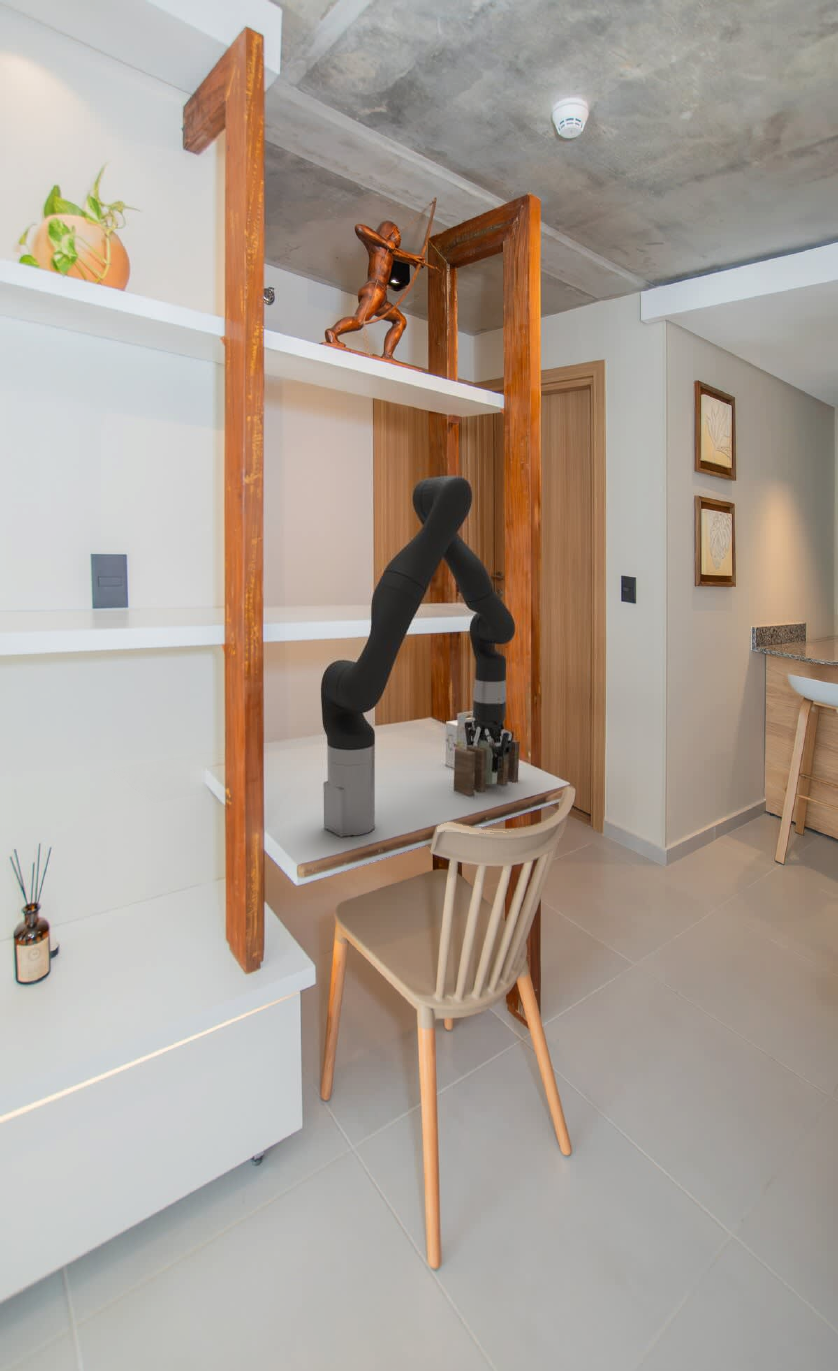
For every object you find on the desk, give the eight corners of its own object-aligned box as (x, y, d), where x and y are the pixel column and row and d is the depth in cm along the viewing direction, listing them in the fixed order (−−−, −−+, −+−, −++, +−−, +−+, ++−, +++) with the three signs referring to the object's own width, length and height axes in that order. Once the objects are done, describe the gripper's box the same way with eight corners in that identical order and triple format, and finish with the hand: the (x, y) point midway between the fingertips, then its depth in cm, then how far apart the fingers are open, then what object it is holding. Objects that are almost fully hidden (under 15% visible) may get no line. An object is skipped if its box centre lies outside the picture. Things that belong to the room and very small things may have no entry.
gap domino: (492, 784, 154) (493, 743, 152) (476, 778, 158) (478, 738, 156) (496, 783, 155) (498, 741, 153) (481, 777, 159) (482, 737, 157)
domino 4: (513, 782, 159) (515, 742, 157) (498, 777, 163) (499, 737, 161) (517, 780, 160) (519, 741, 158) (502, 775, 164) (504, 736, 162)
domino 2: (480, 792, 152) (482, 750, 150) (465, 786, 155) (466, 746, 153) (485, 791, 153) (487, 749, 151) (470, 785, 156) (471, 744, 154)
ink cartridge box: (469, 759, 176) (470, 705, 174) (481, 764, 173) (483, 709, 170) (444, 765, 171) (445, 709, 169) (456, 770, 168) (457, 713, 165)
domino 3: (502, 785, 156) (504, 745, 155) (487, 780, 160) (489, 740, 158) (507, 784, 158) (509, 743, 156) (492, 778, 161) (493, 739, 159)
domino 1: (469, 796, 149) (470, 753, 147) (453, 790, 153) (454, 748, 151) (474, 794, 150) (475, 752, 148) (458, 788, 154) (459, 747, 152)
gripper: (456, 695, 155) (454, 764, 159) (501, 706, 145) (499, 780, 148) (478, 691, 160) (476, 758, 163) (524, 701, 150) (520, 773, 153)
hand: (487, 768), depth 156 cm, fingers open, 5 cm apart
